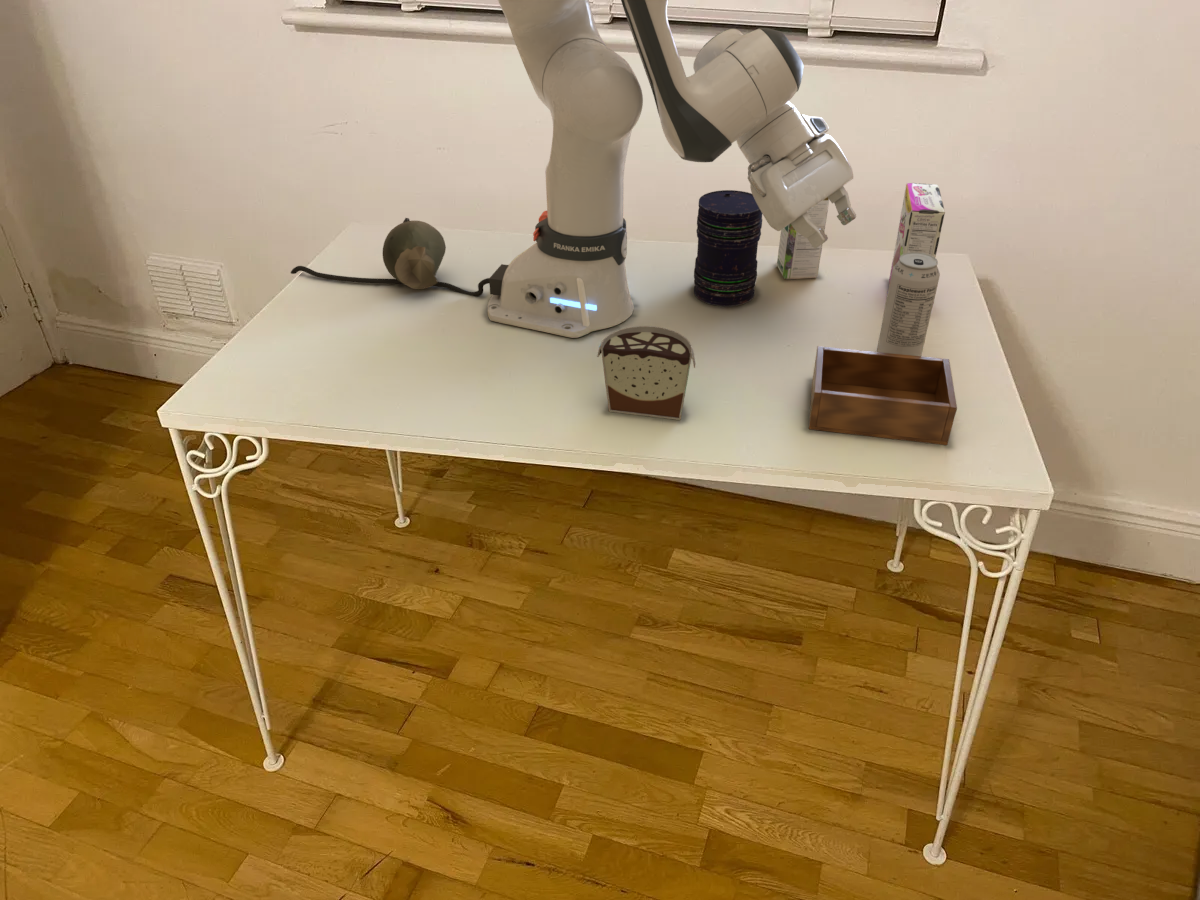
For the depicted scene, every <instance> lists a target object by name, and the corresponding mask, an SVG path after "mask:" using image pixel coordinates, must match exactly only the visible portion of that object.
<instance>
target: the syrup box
mask: <svg viewBox="0 0 1200 900" xmlns="http://www.w3.org/2000/svg"><path fill="white" fill-rule="evenodd" d="M829 205H830V200H829V198H828V197H827V198H825V199H824V200H823V201H821V202H820V203H818V204H817V205H816V206H814V207H813V208H811V209H810V210H809V211H807V213H808V214H809V216H810V217H811V220H810V221H811V222H812V223H813V224H814V225H815V226H816V227H817V228H818V229H819V230H820V229H821V228H822V229H823V231H824V232H825V231H826V225H827V219H828V211H829ZM779 234H780V235H779V242H778V251H777V260H776V267H777V268H778V271H779V272H780V274H781V276H782V277H783V279H784V280H798V279H799V280H801V279H815V278H816V279H817V278H818V275H819V269H820V263H821V258H822V257H821V256H822V251H823V244H822V245H820V246H819V247H817V248H814V247H813V246H812V245H811V243H810V242H809V240H808V239H807V238H805V237H804V236H802V235H801V234H800V233H798V232H797V231H795V229H794V228H793V226H792V225H791V223H790V224H789V225H788V226H786V227H785V228H783V229H782V230H780V233H779Z"/></svg>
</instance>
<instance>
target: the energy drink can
mask: <svg viewBox="0 0 1200 900" xmlns="http://www.w3.org/2000/svg"><path fill="white" fill-rule="evenodd" d="M938 263H939V262H938V259H937V257H935V258H934V257H933V256H931V255H928V254H924V253H918V252H910V253H905V254H902V255H901V256H900V258H899V261H898V262H897V263H896V265H895V266H894V267H893V269H892V274H891V279H890V283H889V285H888V290H887V295H886V301H885V305H884V311H883V315H882V321H881V325H880V331H879V336H878V341H877V346H876V352H882V353H892V354H902V355H912V356H922V354H923V350H924V345H925V342H926V337H927V333H928V328H929V325H930V320H931V315H932V311H933V307H934V302H935V298H936V294H937V289H938V285H939V281H940V277H941V272H940V270H939V268H938Z"/></svg>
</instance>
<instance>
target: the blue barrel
mask: <svg viewBox="0 0 1200 900" xmlns="http://www.w3.org/2000/svg"><path fill="white" fill-rule="evenodd" d="M696 227H697V228H696V238H697V251H696V252H697V254H696V257H695V261H694V270H693V279H694V280H693V284H694V286H693V294H694V297H695V298H696V299H697V300H699V301H701V302H703V303H705V304H707V305H711V306H716V307H717V306H718V307H738V306H741V305H744V304H747V303H749V302H750V301H752V300H753V299H754V297H755V288H756V282H757V280H758V279H757V278H758V260H757V256H758V245H759V241H760V239H761V235H762V228H763V214H762V212H761V210H760V208H759V207H758V205H757V203H756V201H755V199H754V197H753V195H752V192H748V191H743V190H735V189H734V190H731V189H725V190H723V189H722V190H721V189H720V190H714V191H710V192H706V193H704V194H703V195H701V196H700V197H699V199H698V210H697V217H696Z"/></svg>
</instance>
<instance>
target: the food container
mask: <svg viewBox="0 0 1200 900" xmlns="http://www.w3.org/2000/svg"><path fill="white" fill-rule="evenodd" d="M600 356H601V360H602V369H603V376H604V383H605V390H606V391H605V392H606V398H607V408H608V412H610V413H616V414H626V415H633V416H634V415H635V416H641V417H651V418H659V419H665V420H666V419H669V420H676V421H681V419H682V413H683V407H684V402H685V397H686V392H687V391H686V390H687V386H688V379H689V376H690V375H689V374H690V369H691V364H693V368H694V369H696V365H697V363H696V358H695V351H694V349H693V347H692V344H691V342H690V341H689V340H688V338H686V336H684V335H682V334H681V333H679V332H677V331H675V330H672V329H669V328H666V327H660V326H652V325H641V326H640V325H638V326H630V327H629V326H628V327H625V328H621V329H618V330H616V331H613V332H611V333H609V334H607V336H605V337H604V338H603V339H602V341H601V342H600V345H599V347H598V351H597V355H596V358H599V357H600ZM691 362H692V363H691Z"/></svg>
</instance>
